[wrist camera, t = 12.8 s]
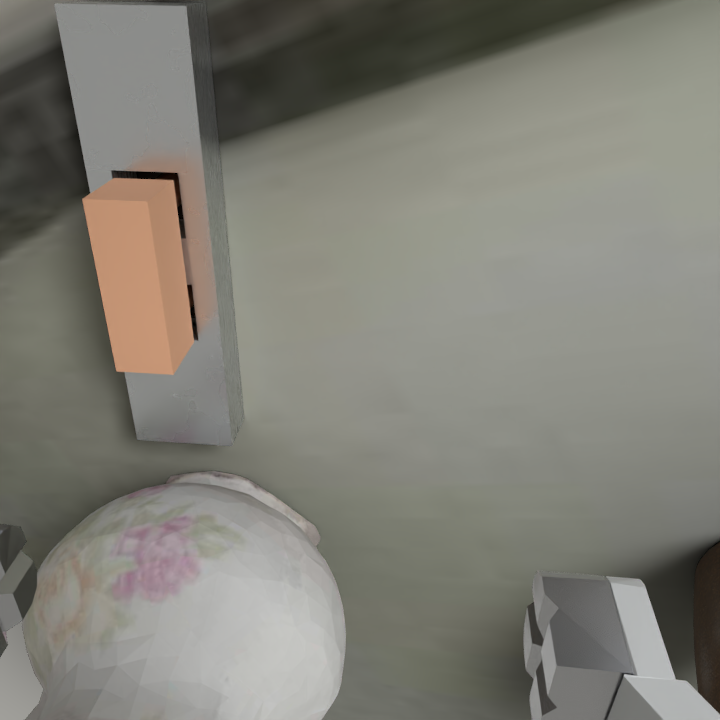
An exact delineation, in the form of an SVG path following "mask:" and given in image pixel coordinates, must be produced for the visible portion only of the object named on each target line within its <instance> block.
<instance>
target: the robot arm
mask: <svg viewBox="0 0 720 720" xmlns="http://www.w3.org/2000/svg"><path fill="white" fill-rule="evenodd" d="M26 542H27V541H26V539H25V536H24V534H23V531H22V529H21V527H18V526H13V525H6V524H0V657H1V655H2V653H3V651H4V650H5V649H6V647H7V645H8V644H7V637H6V631H7V630H9V629H10V628H12V627H13V626H15V625H16V624H18V623H19V622H21V621H22V620H23V619H24V617H25V615H26V614H27V612H28V610H29V609H30V607H31V605H32V603H33V599H34V595H35V592H36V588H37V570H36V567H35V564H34V561H33V560H32V559H30V558H29V557H28V556H27V555H26V554H25V553H23V552H22V551H21V549H22V548H23V546H24V545H25V543H26ZM532 592H533V599H534V602H533V603H532V604H530V605H529V606H527V611H526V616H525V622H524V637H523V642H524V658H525V667H526V671H527V672H528V673H529V674H530V675H531V677H532V678H533V679H534V681H533V685H532V689H531V693H530V697H529V700H530V708H531V716H532V720H720V714H719V713H718V712H717V711H716V710H715V709H714V708H713V707H712V706H711V705H710V704H709V703H708V702H707V701H706V700H705V699H704V698H703V697H702V696H701V695H700V694H699V693H698V692H697V691H696V690H695V689H694V688H693V687H692V686H691V685H690V684H689V683H688V682H687V681H684V680H677V679H675V675H674V672H673V669H672V666H671V663H670V660H669V657H668V654H667V651H666V648H665V645H664V642H663V639H662V636H661V633H660V630H659V627H658V624H657V620H656V617H655V614H654V611H653V608H652V605H651V602H650V599H649V596H648V593H647V590H646V587H645V585H644V583H643V582H642V581H641V580H640V579H633V578H622V577H610V576H605V577H604V576H602V575H590V574H577V573H564V572H551V571H537V573H536V574H535V576H534V580H533V584H532Z"/></svg>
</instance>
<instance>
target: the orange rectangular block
mask: <svg viewBox="0 0 720 720" xmlns="http://www.w3.org/2000/svg"><path fill="white" fill-rule="evenodd" d="M82 200H83V205H84V210H85V215H86V221H87V226H88V231H89V236H90V241H91V246H92V251H93V256H94V261H95V266H96V271H97V276H98V281H99V286H100V291H101V296H102V301H103V306H104V312H105V317H106V322H107V327H108V332H109V337H110V342H111V347H112V352H113V357H114V362H115V367H116V371H117V372H134V373H151V374H168V375H174V373H175V371H176V370H177V368H178V367H179V365H180V364H181V362H182V360H183V359H184V357H185V356H186V354H187V353H188V351H189V349H190V348H191V346H192V345H193V343H194V337H193V329H192V321H191V314H190V309H191V307H192V306H193V304H194V299H193V291H192V285H187V282H186V274H185V266H184V258H183V251H182V243H181V235H180V227H179V219H178V211H177V207H178V206H179V205H181V204H182V202H181V193H180V185H179V177H178V175H176V174H174V173H164V174H162V175H160V176H159V177H157V178H156V179H129V178H113V179H112V180H110V181H109V182H107V183H106V184H104V185H103V186H101V187H100V188H98V189H96V190H95V191H93V192H92V193H90V194H89V195H87V196H86V197H84V198H83V199H82Z"/></svg>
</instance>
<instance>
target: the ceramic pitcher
mask: <svg viewBox="0 0 720 720" xmlns="http://www.w3.org/2000/svg"><path fill="white" fill-rule="evenodd" d="M320 539H321V537H320V535H319V533H318V531H317V529H316V527H315V526H314V525H313V524H312V523H310V522H309V521H308V520H306V519H305V518H303V517H302V516H301V515H299V514H298V513H296V512H295V511H294V510H293V509H291V508H290V507H289V506H287V505H286V504H285V503H283V502H282V501H280V500H279V499H278V498H276V497H275V496H273V495H272V494H270V493H269V492H267V491H266V490H264V489H263V488H261V487H260V486H258V485H257V484H255V483H253V482H252V481H250V480H249V479H247V478H244V477H241V476H239V475H234V474H228V473H222V472H217V471H206V472H195V473H188V474H181V475H173V476H170V478H169V479H168V480H167V482H166V483H165V484H163V485H158V486H153V487H149V488H144V489H141V490H138V491H136V492H133V493H130V494H128V495H125V496H122V497H120V498H117V499H115V500H113V501H111V502H109V503H107V504H106V505H104V506H102V507H100V508H99V509H97V510H96V511H94V512H93V513H91V514H90V515H89V516H87V517H86V518H85V519H84V520H83V521H81V522H80V523H79V524H78V525H77V526H76V527H75V528H73V529H72V530H71V531H70V532H69V533H68V534H67V535H66V536H65V537H64V538H63V539H62V540H61V541H60V542H59V543H58V544H57V545H56V546H55V547H54V548H53V549H52V550H51V551H50V553H49V554H48V556H47V557H46V558H45V560H44V561H43V563H42V565H41V566H40V568H39V570H38V572H37V588H36V592H35V595H34V599H33V603H32V605H31V607H30V609H29V610H28V612H27V614H26V615H25V617H24V619H23V624H22V629H23V634H24V639H25V644H26V648H27V653H28V656H29V659H30V662H31V665H32V668H33V671H34V673H35V675H36V677H37V679H38V680H39V682H40V684H41V685H42V687H43V692H42V695H41V698H40V701H39V704H38V705H37V706H36V707H35V708H34V709H33V711H32V712H31V713H30V714H29V715H28V717H27V718H26V719H25V720H322V718H323V717H324V715H325V713H326V712H327V711H328V710H329V708H330V706H331V705H332V703H333V701H334V700H335V698H336V696H337V695H338V692H339V688H340V685H341V680H342V672H343V665H344V657H345V643H346V630H345V620H344V611H343V606H342V601H341V598H340V594H339V590H338V587H337V583H336V581H335V579H334V576H333V574H332V572H331V570H330V568H329V566H328V564H327V562H326V561H325V559H324V558H323V557H322V556H321V554H320V553H319V551H318V550H317V548H316V546H317V545H318V543H319V541H320Z"/></svg>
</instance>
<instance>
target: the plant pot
mask: <svg viewBox="0 0 720 720" xmlns="http://www.w3.org/2000/svg"><path fill="white" fill-rule="evenodd" d="M694 649H695V663H696V674H697V684H698V693H699V694H700V695H701V696H702V697H703V698H704V699H705V700H706V701H707V702H708V703H709V704H710V705H711V706H712V707H713V708H714V709H715V710H716V711H717V712H718V713H719V714H720V542H719V543H718V544H716V545H715V546H713V547H712V548H711V549H709V550H708V551H707V552H706V553H705V555H704V556H703V557H702V558H701V560H700V561H699V563H698V565H697V568H696V572H695V583H694Z"/></svg>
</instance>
